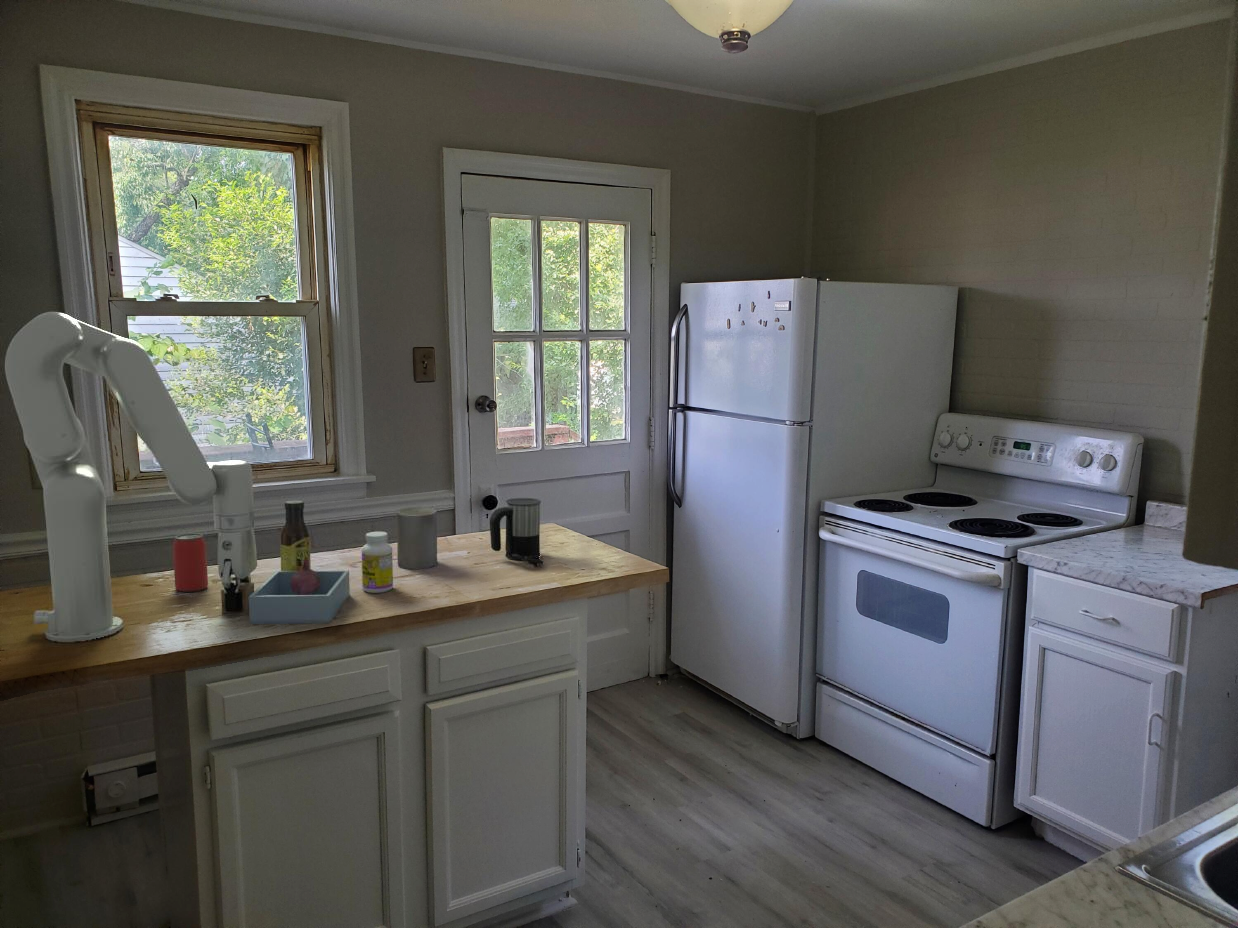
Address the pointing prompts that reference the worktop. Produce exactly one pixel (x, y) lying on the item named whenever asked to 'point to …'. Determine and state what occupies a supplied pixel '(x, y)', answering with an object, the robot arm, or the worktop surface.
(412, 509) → the pillar candle
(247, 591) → the walnut cube
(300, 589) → the vegetable
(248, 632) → the worktop surface
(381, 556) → the supplement bottle
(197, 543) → the beer can
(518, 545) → the milk frother
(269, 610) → the tote
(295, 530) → the sauce bottle
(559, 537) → the worktop surface
